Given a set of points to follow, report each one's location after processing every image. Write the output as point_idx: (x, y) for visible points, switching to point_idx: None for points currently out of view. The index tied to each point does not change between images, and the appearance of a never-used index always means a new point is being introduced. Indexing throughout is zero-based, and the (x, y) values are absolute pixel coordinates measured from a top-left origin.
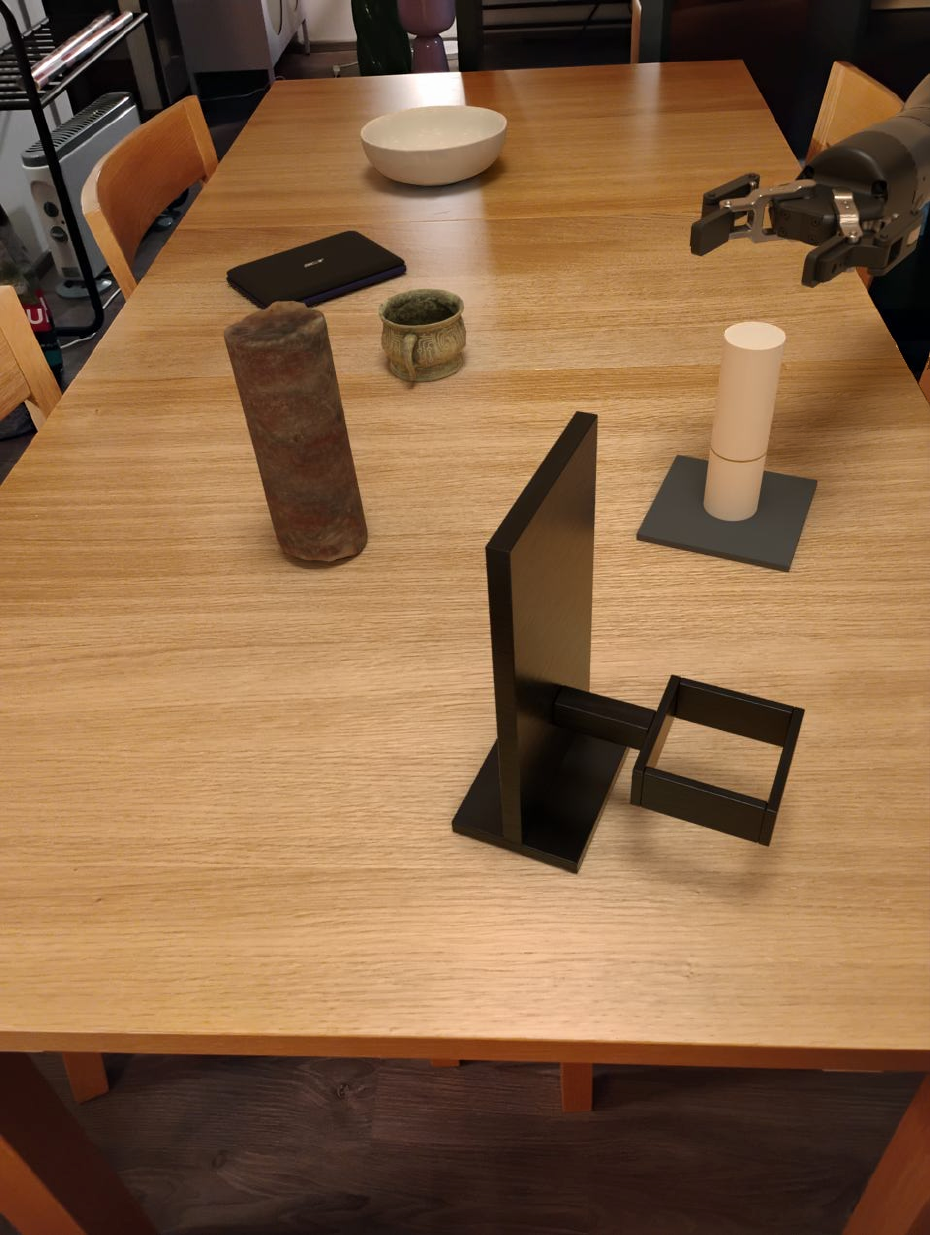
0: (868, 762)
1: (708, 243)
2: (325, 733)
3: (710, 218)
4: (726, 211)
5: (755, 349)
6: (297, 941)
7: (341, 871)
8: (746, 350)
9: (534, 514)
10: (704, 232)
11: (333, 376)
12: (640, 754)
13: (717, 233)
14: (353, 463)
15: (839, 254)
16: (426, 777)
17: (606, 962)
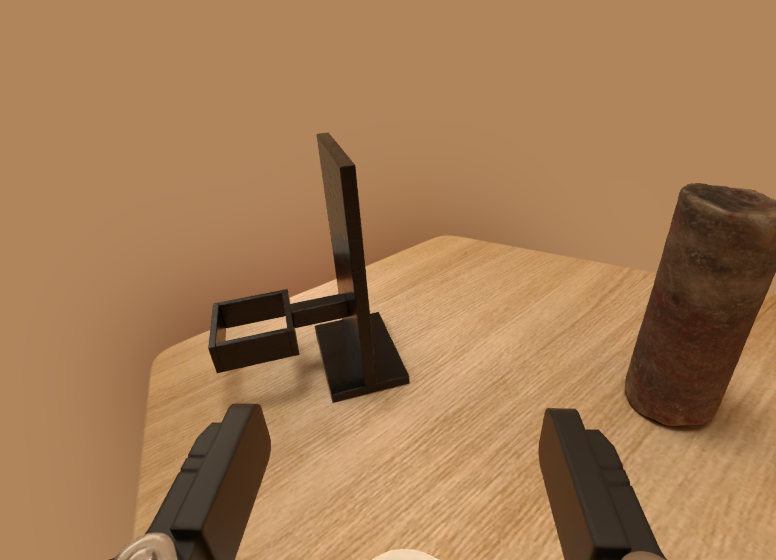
0: (177, 463)
1: (550, 475)
2: (476, 317)
3: (576, 448)
4: (594, 523)
5: (373, 558)
6: (394, 274)
7: (404, 290)
8: (389, 551)
9: (321, 141)
10: (548, 428)
11: (693, 264)
12: (287, 294)
13: (561, 501)
14: (677, 358)
15: (184, 474)
16: (412, 327)
17: (285, 317)
